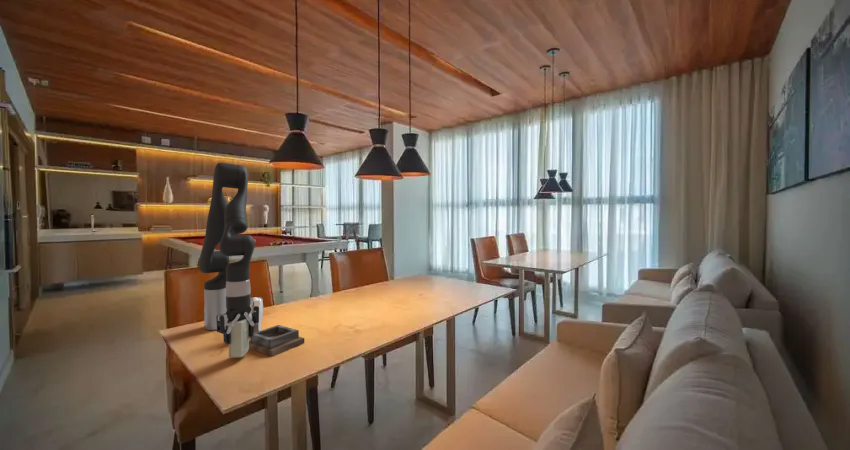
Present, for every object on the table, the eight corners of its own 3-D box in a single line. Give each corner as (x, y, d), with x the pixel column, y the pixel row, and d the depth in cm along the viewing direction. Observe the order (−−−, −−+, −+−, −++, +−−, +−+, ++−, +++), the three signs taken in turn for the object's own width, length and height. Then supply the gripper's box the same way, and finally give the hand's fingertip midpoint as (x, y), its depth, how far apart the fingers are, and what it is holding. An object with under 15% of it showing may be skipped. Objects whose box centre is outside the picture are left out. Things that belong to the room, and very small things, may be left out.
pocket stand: (245, 346, 131) (244, 333, 131) (277, 335, 143) (277, 323, 143) (272, 356, 123) (272, 342, 123) (304, 343, 135) (304, 330, 135)
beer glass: (255, 339, 139) (255, 301, 138) (240, 337, 140) (239, 300, 139) (267, 333, 145) (266, 297, 145) (252, 331, 147) (251, 296, 146)
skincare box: (236, 350, 124) (236, 316, 123) (249, 350, 124) (249, 316, 124) (228, 358, 118) (227, 322, 117) (241, 357, 118) (241, 322, 117)
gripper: (251, 287, 128) (251, 331, 129) (210, 296, 115) (211, 344, 116) (264, 290, 124) (264, 335, 125) (223, 299, 112) (224, 349, 112)
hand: (239, 339), depth 121 cm, fingers closed on skincare box, 7 cm apart
